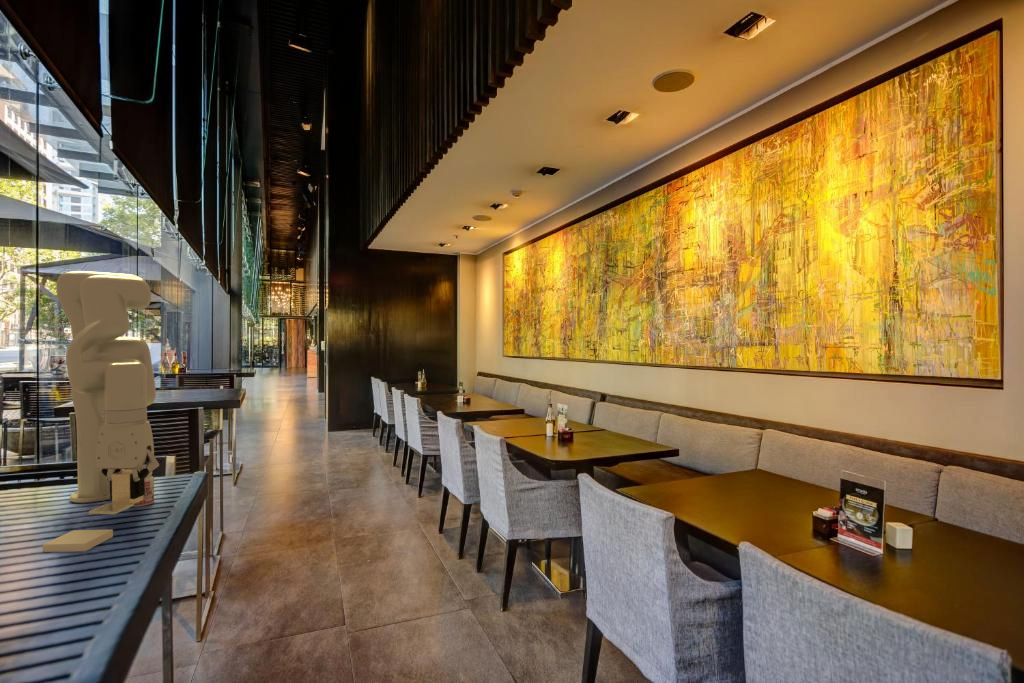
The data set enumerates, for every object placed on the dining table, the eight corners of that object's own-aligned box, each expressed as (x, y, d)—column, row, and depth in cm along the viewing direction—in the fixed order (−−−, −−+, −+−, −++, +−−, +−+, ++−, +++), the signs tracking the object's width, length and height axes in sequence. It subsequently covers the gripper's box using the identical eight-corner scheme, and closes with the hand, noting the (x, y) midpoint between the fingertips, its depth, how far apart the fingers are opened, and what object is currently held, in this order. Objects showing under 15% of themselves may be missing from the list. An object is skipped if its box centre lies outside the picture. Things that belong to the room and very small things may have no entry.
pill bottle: (141, 507, 121) (141, 473, 121) (125, 506, 122) (124, 472, 122) (159, 501, 126) (158, 467, 126) (143, 500, 127) (142, 467, 127)
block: (73, 530, 104) (42, 544, 97) (112, 529, 104) (84, 543, 97) (73, 538, 104) (42, 553, 97) (113, 538, 104) (85, 552, 97)
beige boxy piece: (122, 499, 116) (122, 469, 116) (146, 499, 116) (146, 469, 116) (88, 513, 107) (88, 481, 107) (114, 514, 107) (114, 481, 107)
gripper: (74, 419, 110) (76, 502, 110) (151, 419, 110) (152, 503, 110) (103, 413, 117) (104, 491, 118) (174, 413, 117) (175, 491, 118)
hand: (127, 496), depth 114 cm, fingers closed on beige boxy piece, 4 cm apart
